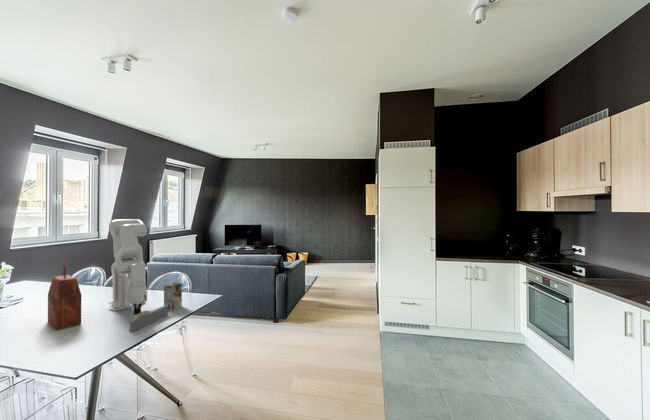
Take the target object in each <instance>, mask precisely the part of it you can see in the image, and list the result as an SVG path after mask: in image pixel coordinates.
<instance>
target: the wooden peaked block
mask: <svg viewBox="0 0 650 420" xmlns="http://www.w3.org/2000/svg"><path fill="white" fill-rule="evenodd" d="M66 269H67V267H66V263H63V273H62V274H63V275H57V276H56V275H55V276H54V277H52V279H51V283H50V286H49V290H48V292H47V323H48V324H49V325H50V326H51V327H52V328H53V329H54V330H55V331H59V330H62V329H65V328H70V327H72V326H73V327H74V326H77V325H81V324H82V293H81V289H80V285H79V283H78V278H76V277H74V276H71V275H69V274H67V270H66Z"/></svg>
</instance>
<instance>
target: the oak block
mask: <svg viewBox="0 0 650 420" xmlns="http://www.w3.org/2000/svg"><path fill="white" fill-rule="evenodd" d="M151 311H152V310H144V311H141V313H139V314H136V315H134V319H135V318H138V317H140V316H142V315H144V314H147V313H149V312H151Z"/></svg>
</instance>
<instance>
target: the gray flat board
mask: <svg viewBox="0 0 650 420" xmlns="http://www.w3.org/2000/svg"><path fill="white" fill-rule="evenodd" d="M150 311H151V312H149V313H147V314H144V315H142V316H140V317H138V318H135V319H131V320H130V321H129V328H130V329H129V332H130V333H134V332H136V331H139V330H140V329H142V328H145V327H146V326H148V325H150V324H152V323H154V322H157V321H158V320H160V319H162V318H164V317H166V316H168V315H169V311H168V305H164V304H163V305H162V306H161V307H158V308H155V309H153V310H150Z"/></svg>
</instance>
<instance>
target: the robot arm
mask: <svg viewBox="0 0 650 420" xmlns="http://www.w3.org/2000/svg"><path fill="white" fill-rule="evenodd" d="M108 223H109V224H108V229H109V232H110V234H111V237H112V241H113V243H112V245H113V248H112V249H113V257H114V262H113V263H112V264H111V268H110V269H111V274H112V275H111V277H112V300H110V301H109V303H108V304H109V305H111V306H110V307H109V310H110V311H116V312H117V311H122V310H127V309H130V308H131V307H132V308H133V315H134V316H135V315H136V314H139V313H141V312H142V307H143V306H144V305H146V304H147V303H146V302H147V300H148V291H147V290H148V289H147V285H146V267H147V266H146V265H147V264H146V263H145V261H144V255H143V254H144V253H143V248H142V245H141V244H140V243H139V241H138V237H144V236H146V235H147V231H148V229H147V226H146V224H145V223H144V222H143V221H142V220H141V219H136V218H133V219H132V218H130V219H113V220H111V221H110V222H108ZM131 258H132V259H131ZM125 259H126V260H125ZM127 275H129V277H128V276H127Z"/></svg>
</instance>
